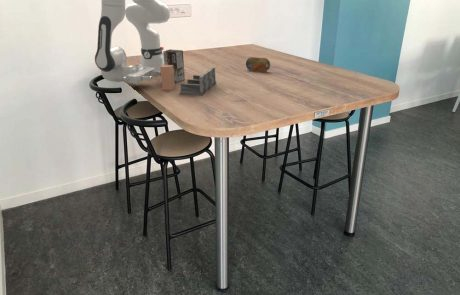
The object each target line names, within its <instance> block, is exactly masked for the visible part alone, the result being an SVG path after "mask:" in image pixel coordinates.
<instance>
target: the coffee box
mask: <svg viewBox="0 0 460 295" xmlns="http://www.w3.org/2000/svg"><path fill="white" fill-rule="evenodd" d="M162 52H163V53H162V54H163V55H164V64H165V65H173V71H174V82H181V81H185V79H186V77H185V76H186V74H185V63H184V51H183V50H179V49H166V50H162Z"/></svg>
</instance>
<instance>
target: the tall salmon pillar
mask: <svg viewBox="0 0 460 295" xmlns="http://www.w3.org/2000/svg"><path fill="white" fill-rule="evenodd" d="M160 70H161V73H160V78H161V88H162V89H161V90H162V91H173V90H175V88H176V87H175V81H174V71H173V65H162V66H160Z"/></svg>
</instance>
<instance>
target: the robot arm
mask: <svg viewBox="0 0 460 295" xmlns="http://www.w3.org/2000/svg"><path fill="white" fill-rule="evenodd" d="M132 2H133V3H131V4H127V6H126V0H101V9H100V10H101V11H100V12H101V13H100V19H99V22H98V27H97V28H98V30H97V31H98V32H97V49H96V52H95V55H94V63H95V66H96V67H97V68H98V69H99V70H100V73H101V76H102V78H104V79H105V80H106V81H108V82H114V83H121V82H123V83H126V84H140V83H141V82H143V81H151V80H153V79H152V77H153V76H161V70H160V66H162V65H165V64H164V54H163V51H164V46H161V38H160V34H159V33H158V31H156V30H154V29H153V28H151V26H150V24H158V25H159V24H164V23H166V22H168V21H169V20H170V17H171V11H170V9H169V7H168V6H167V4H165V3H163V2H161V1H159V0H132ZM125 17H126V20H127V21H128V22H129V23H131V24H132V25H133V26H134V27H135V28H136V29H135V30H136V31H137V32H138V33H137V34H138V35H139V40H140V46H141V47H140V53H141V56H140V59H139V60H140V64H137V65H127V54H126V51H125V50H124V49H123V48H122V47H120V46H118V45H117V46H116V45H115V46H112V36H113V32H114V30H115V29H116V28H117V27H118V26H119V25H120V24H121V23H122V21H124V19H125Z"/></svg>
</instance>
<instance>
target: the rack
mask: <svg viewBox="0 0 460 295" xmlns="http://www.w3.org/2000/svg"><path fill="white" fill-rule="evenodd" d="M186 81H187V83H180V89H179V92H180V94H183V95H195V96H196V95H198V96H204V95H206V93H207V92H209V90H211V89H212V88H214V86H216V84H217V81H216V67H215V66H212V67H211V68H210V69H208V70H206V71H205V72H204V73H202V74H200V75H199V74H197V75H196V74H194V75H192V79H191V78H190V79H189V78H187V79H186Z"/></svg>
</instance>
